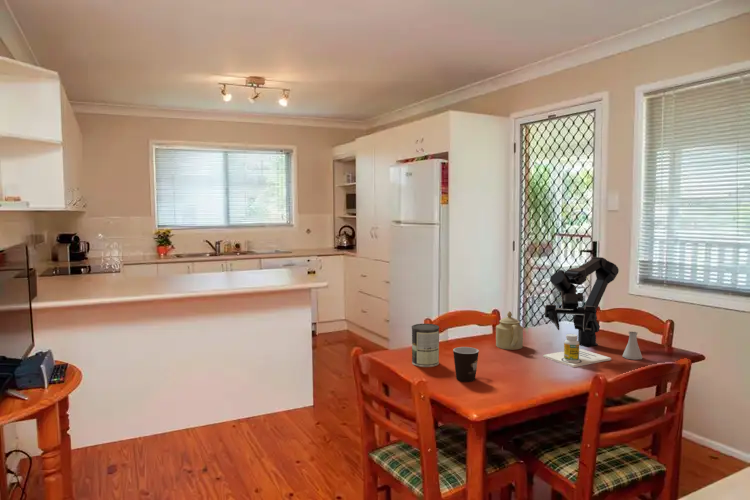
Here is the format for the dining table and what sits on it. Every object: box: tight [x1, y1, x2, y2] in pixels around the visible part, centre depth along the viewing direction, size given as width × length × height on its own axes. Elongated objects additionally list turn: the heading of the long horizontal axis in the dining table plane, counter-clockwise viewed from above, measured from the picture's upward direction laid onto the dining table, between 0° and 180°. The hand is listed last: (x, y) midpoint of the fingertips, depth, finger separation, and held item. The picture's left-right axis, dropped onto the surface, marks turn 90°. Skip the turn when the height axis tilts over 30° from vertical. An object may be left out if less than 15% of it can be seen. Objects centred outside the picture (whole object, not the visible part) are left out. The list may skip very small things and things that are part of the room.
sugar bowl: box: [495, 311, 524, 351], centre depth 218 cm, size 15×11×15 cm
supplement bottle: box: [563, 333, 580, 362], centre depth 196 cm, size 5×5×10 cm
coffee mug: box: [452, 346, 480, 383], centre depth 179 cm, size 12×9×10 cm
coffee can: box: [411, 323, 440, 368], centre depth 196 cm, size 10×10×14 cm
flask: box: [622, 331, 643, 361], centre depth 202 cm, size 7×7×10 cm
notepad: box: [542, 348, 612, 368], centre depth 202 cm, size 15×20×1 cm
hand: (571, 330), depth 200 cm, fingers open, 9 cm apart
